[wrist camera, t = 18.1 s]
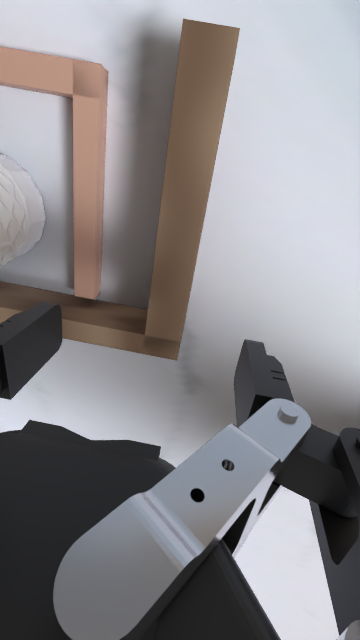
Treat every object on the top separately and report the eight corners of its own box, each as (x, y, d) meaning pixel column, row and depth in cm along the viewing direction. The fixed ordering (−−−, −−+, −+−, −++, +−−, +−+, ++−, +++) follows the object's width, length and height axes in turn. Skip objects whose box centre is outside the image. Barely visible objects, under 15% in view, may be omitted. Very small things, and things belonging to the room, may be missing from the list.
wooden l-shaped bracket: (234, 61, 16) (239, 27, 12) (182, 332, 23) (176, 360, 20) (-100, 4, 16) (-189, -45, 12) (-42, 288, 24) (-87, 308, 20)
